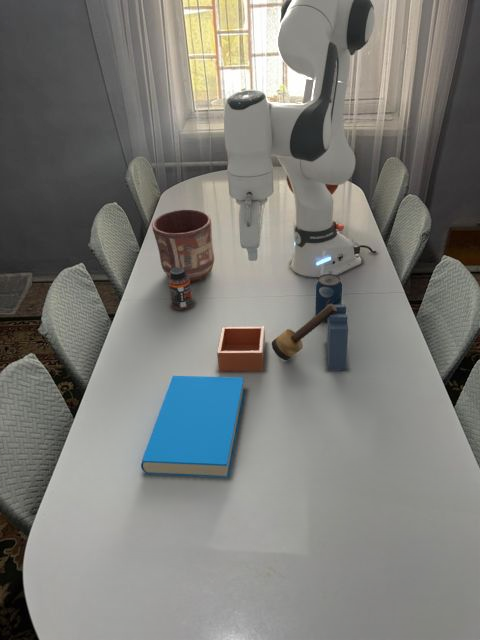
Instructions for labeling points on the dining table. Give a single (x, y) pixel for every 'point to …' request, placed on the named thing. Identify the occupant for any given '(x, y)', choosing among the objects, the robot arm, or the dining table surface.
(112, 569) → the dining table surface
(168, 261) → the pottery
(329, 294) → the soda can
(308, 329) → the brush
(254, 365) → the caddy
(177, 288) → the supplement bottle
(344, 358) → the stand
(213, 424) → the book
